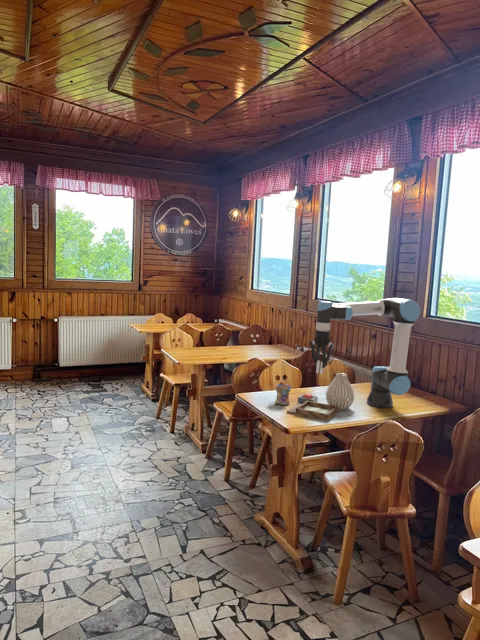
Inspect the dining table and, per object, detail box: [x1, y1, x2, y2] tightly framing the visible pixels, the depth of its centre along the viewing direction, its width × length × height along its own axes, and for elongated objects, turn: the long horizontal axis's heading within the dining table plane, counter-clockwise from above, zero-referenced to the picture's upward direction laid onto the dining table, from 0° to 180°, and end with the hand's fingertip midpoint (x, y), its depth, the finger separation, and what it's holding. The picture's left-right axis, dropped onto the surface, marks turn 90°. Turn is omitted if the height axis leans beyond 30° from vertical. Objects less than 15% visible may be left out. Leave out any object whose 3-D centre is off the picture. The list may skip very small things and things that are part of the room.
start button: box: [303, 393, 313, 399], centre depth 274 cm, size 5×5×4 cm
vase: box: [325, 372, 355, 411], centre depth 267 cm, size 16×16×20 cm
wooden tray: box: [286, 401, 339, 422], centre depth 256 cm, size 23×18×4 cm
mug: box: [274, 383, 292, 406], centre depth 271 cm, size 12×9×11 cm
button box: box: [297, 393, 319, 404], centre depth 274 cm, size 9×9×4 cm
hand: (319, 373), depth 253 cm, fingers open, 1 cm apart
